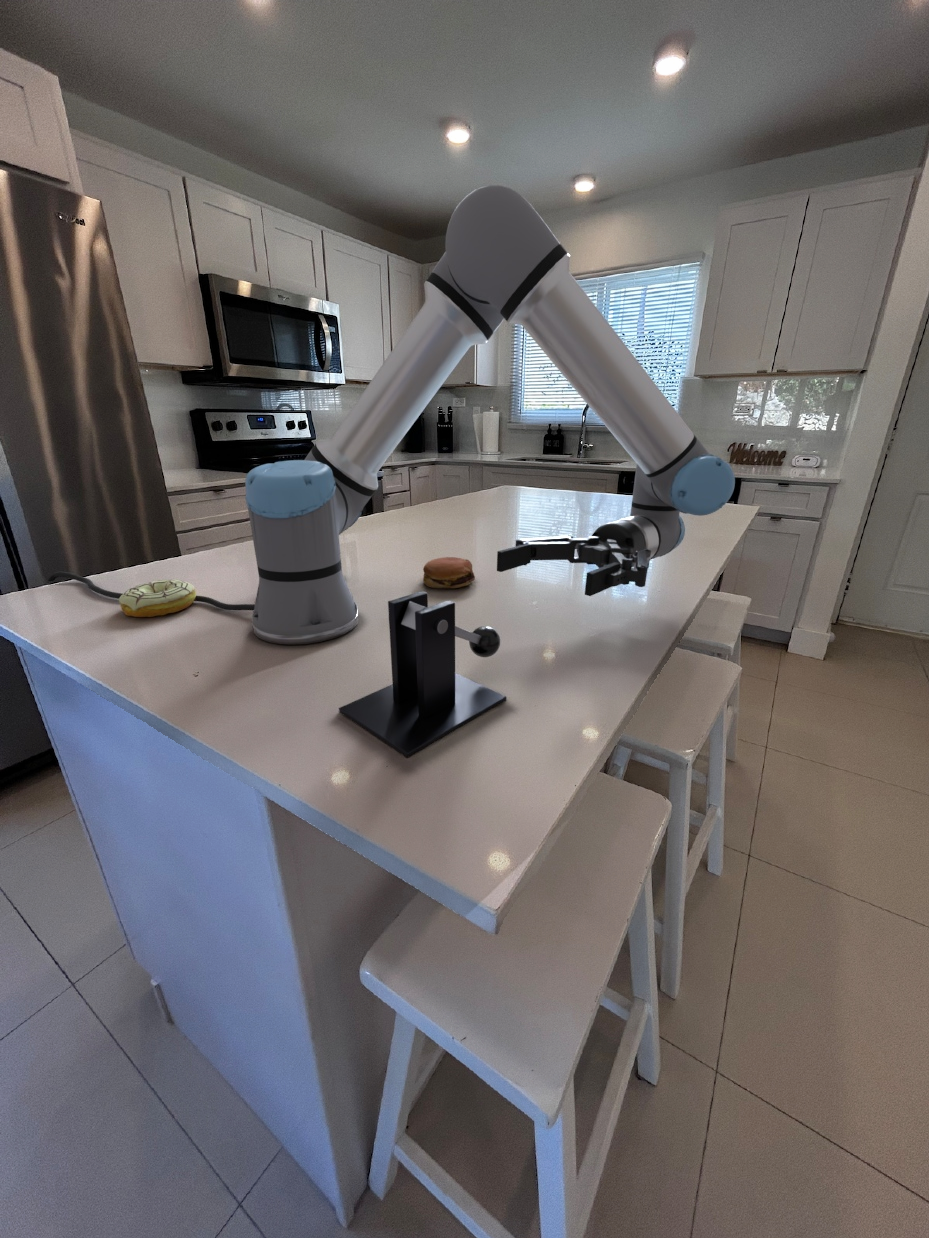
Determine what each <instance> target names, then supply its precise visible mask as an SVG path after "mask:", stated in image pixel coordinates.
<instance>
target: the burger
mask: <svg viewBox="0 0 929 1238" xmlns="http://www.w3.org/2000/svg"><path fill="white" fill-rule="evenodd" d="M422 570H423V578H422V580H423V584H424V585H425V586H426V587H428V588H432V589H458V588H463V587H466V586H469V585H471V584H472V583H473V581H475V579H476V578H475V577H476V576H475V572H474V571H473V563H472V561H470V560H469V559H467V558H466V559H465V558H461V557H455V556H453V557H452V556H444V557H437V558H434V559H431V560H429V561H427V562H426V563H425V564H424V566H423V569H422Z"/></svg>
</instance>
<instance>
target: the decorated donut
mask: <svg viewBox="0 0 929 1238" xmlns="http://www.w3.org/2000/svg"><path fill="white" fill-rule="evenodd" d="M122 594H123V595H121V596H120V598H119V599H118V602H119V604H120V609H121V611H122V612H123V613H124V614H125V615H126V616H128V617H134V618H135V617H137V618H144V617H148V618H153V617H156V616H167V614H174V613H178V612H179V611H182V610H184V609H188V608H189V607H190V606H191V605H192V604H193V603H194V602H195V601H194V599H195V597H196V596H197V593H196V589H195V587H194V585H193V584H191V583H189V582H188V581H184V580H180V579H172V578H171V579H162V580H161V579H159V580H154V581H149V582H145V583H141V584H138V585H135V586H133V587H130V588H129V589H127V590H125V591H124V592H123V593H122Z"/></svg>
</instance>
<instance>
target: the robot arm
mask: <svg viewBox="0 0 929 1238" xmlns="http://www.w3.org/2000/svg"><path fill="white" fill-rule="evenodd" d="M444 246H445V247H444V248H445V252H444V253H443V255H442V256H441V257H440V259H439V261H438V262H437V263H436V265H435V266H434V268H433V270H432V271H431V272H430V274H429V276H428V277H427V278H426V280H425V281H424V283H423V285H424V286H423V287H424V297H425V300H424V303H423V305H422V306H421V307H420V309H419V311H418V312H417V314H416V315H415V316H414V318H413V320H412V321H411V323H410V324H409V325H408V327H407V328H406V330H405V331H404V332H403V334H402V335H401V337H400V338H399V339H398V341H397V343H396V344H395V346H394V347H393V348H392V350H391V352H390V353H389V354H388V356H387V357H386V358H385V360H384V362H383V363H382V365H381V366H380V368H379V369H378V370H377V372H376V373H375V374H374V376H373V378H372V379H371V381H370V382H369V383H368V385H367V386H366V388H365V389H364V391H363V392H362V393H361V395H360V396H359V397H358V399H357V401H356V402H355V404H354V405H353V407H352V408H351V410H350V411H349V413H348V414H347V415H346V417H345V418H344V420H343V422H342V423H341V424H340V426H339V427H338V428H337V430H336V431H335V433H334V434H333V436H332V437H330V438H325V439H324V438H323V439H318V440H316V442H315V443H314V445H313V446H312V448H311V449H310V451H309V452H308V454H307V455H306V457H305V458H304V459H293V460H281V461H275V462H274V463H270V462H269V463H264V464H261V465H259V466H256V467H254V468H252V469H251V470H249V472H247V474H246V476H245V480H244V484H245V485H244V486H245V496H244V498H245V504H246V506H247V511H248V518H249V525H250V530H251V535H252V536H251V537H252V541H253V549H254V555H255V561H256V566H257V567H256V568H257V574H258V584H257V585H258V586H257V590H256V596H255V601H254V603H239V604H236V603H235V604H232V603H231V604H230V603H224V602H221V601H219V600H217V599H214V598H212V597H208V596H203V595H196V597H195V599H194V602H199V603H200V602H201V603H206V604H209V605H212V606H214V607H216V608H218V609H221V610H226V611H232V612H233V611H235V612H236V611H253V613H252V616H251V617H252V621H251V623H252V629H253V634H254V635H255V636H256V637H257V638H259V639H260V640H263V641H265V642H268V643H271V644H272V643H273V644H277V645H278V644H279V645H308V644H315V643H321V642H324V641H325V642H326V641H329V640H333V639H335V638H338V637H341V636H343V635H345V634H347V633H349V632H351V631H352V630H354V629H355V628H356V626H357V625H358V624H359V607H358V603H357V601H356V600H355V599H354V597H353V595H352V593H351V590H350V588H349V586H348V583H347V581H346V579H345V576H344V573H343V569H342V568H343V567H342V566H343V565H342V558H341V557H342V555H341V545H340V535H341V534H342V533H343V532H345V531H347V530H348V529H349V528H351V527H353V526H354V525H355V524H356V522H357V521H358V520H359V518H360V517H361V515H362V512H363V511H364V507H365V506H366V505H367V504H368V502H369V501H370V499H371V498H372V497H373V495H374V494H375V493H376V491H378V488H379V480H378V472H379V471H380V469H381V468H382V467H383V465H385V463H386V462H387V460H388V459H389V458H390V456H391V455H392V453H394V451H395V449H396V448H397V447H398V445H400V442H401V441H402V440H403V439H404V437H405V436H406V434H407V433H408V432H409V431H410V429H411V428H412V426H413V425H414V423H415V422H416V421H417V420H418V419H419V416H420V415H421V414H422V413H423V411H424V410H425V408H426V407H427V406H428V405H429V403H430V402H431V401H432V399H433V398H434V396H435V395H436V394H437V393H438V391H439V390H440V389H441V387H442V386H443V384H444V383H445V382H446V380H447V379H448V378H449V376H450V375H451V373H452V372H453V371H454V370H455V368H456V366H457V365H458V364H459V363H460V361H461V360H462V359H463V357H464V356H465V355H466V353H467V352H468V350H469V349H470V348H471V347H473V346H476V345H483V344H487V343H488V341H489V340H490V339H491V337H492V336H493V334H495V332H496V331H497V329H498V328H499V327H500V326H501V324H502V323H503V321H504V320H505V321H506V323H508V325H520V326H521V327H522V328H523V329H524V330H525V331H526V332H527V333H528V335H529V336H530V337H531V339H532V340H533V341H534V342H535V343H536V344H537V346H538V347H539V348H540V349H541V351H542V352H543V353H544V354H545V355H546V356H547V358H548V359H549V360H550V361H551V362H552V363H553V365H554V366H555V367H556V369H558V371H559V372H560V373H561V375H562V376H563V377H564V378H565V379H566V380H567V382H568V383H569V385H571V386H572V388H573V389H574V390H575V391H576V393H578V395H579V397H581V398H582V399H583V401H584V402H585V403H586V405H587V406H588V407H589V409H591V410H592V412H593V413H594V415H596V417H597V418H598V419H599V420H600V421H601V423H603V425H604V426H605V427H606V428H607V430H608V431H609V432H610V433H611V435H612V436H613V437H614V438H615V439H616V441H617V442H618V443H619V444H620V445H621V447H622V448H623V449H624V450H625V451H626V452H627V454H628V455H629V456H630V457H631V459H632V460H633V461H634V462H635V463H636V466H635V475H634V484H633V490H632V491H633V492H632V499H631V506H630V515H629V516H628V517H625V518H620V519H618V520H615V521H611V522H607V523H604V524H602V525H600V526H598V528H596V529H595V530H594V532H593V533H592V534H591V535H589V536H586V537H574V535H573V534H571V533H569V534H564V535H558V536H548V537H547V536H546V537H545V536H544V537H533V538H531V537H530V538H517V539H515V545H514V546H512V547H509V548H504V549H502V550H497V555H496V572H499V573H503V572H505V571H509V570H512V569H516V568H518V567H522V566H527V565H528V564H531V561H568V562H569V563H570V564H586V565H595V566H596V567H597V568H596V569H593V570H590V571H587V572H586V577H585V588H584V596H587V597H592V596H594V595H596V594H598V593H601V592H604V591H606V590H608V589H611V588H613V587H618V586H620V585H624V586H626V585H629V584H630V583H631V582H632V583H634V585H635V586H636V587H638V588H643V587H646V583H647V577H648V570H649V568H650V561H651V560H654V559H656V558H661V557H663V556H665V555H668V554H670V553H671V552H672V551H673V550H676V549H677V548H678V547H679V546H680V544H681V543H682V541H683V540H684V538H685V534H686V525H685V523H684V520H683V518H682V516H681V515H680V514H681V513H682V514H685V515H686V514H689V515H691V516H692V515H693V516H701V517H702V516H708V515H711V514H713V513H716V512H717V511H719V510H720V509H722V508H723V507H724V506H725V505H726V504H727V503H728V501H729V500H730V499H731V497H732V495H733V493H734V490H735V486H736V485H735V484H736V478H735V473H734V469H732V467H731V465H730V464H729V463H728V462H727V461H726V460H724V459H722V458H721V457H719V456H717V455H714V454H711V453H710V452H709V451H708V450H707V449H706V447H705V446H704V445H703V443H702V442H701V441H700V440H699V439H698V438H697V436H696V435H695V434H694V432H693V431H692V430H691V428H690V427H689V426H688V425H687V424H686V422H685V421H684V419H683V418H682V417H681V416H680V414H679V413H678V412H677V410H676V409H675V408H674V406H673V405H672V404H671V403H670V401H669V400H668V399H667V397H666V396H665V395H664V393H663V391H661V389H660V388H659V387H658V385H657V384H656V382H654V380H653V379H652V377H651V376H650V375H649V374H648V372H647V370H645V369H644V368H643V366H642V365H641V364H640V362H639V361H638V360H637V358H636V357H635V356H634V354H633V353H632V352H631V350H630V349H629V347H628V346H627V345H626V344H625V343H624V341H623V340H622V338H620V336H619V334H617V332H616V331H615V330H614V328H613V326H612V325H611V324H610V323H609V321H608V320H607V318H605V317H604V315H603V314H602V312H601V311H600V310H599V308H598V307H597V306H596V305H595V303H594V302H593V301H592V300H591V298H590V297H589V295H588V294H587V292H585V290H584V289H583V288H582V286H581V285H580V283H579V282H578V281H577V280H576V278H575V277H574V275H572V273H571V272H570V271H571V270H570V262H571V261H570V257H571V255H570V254H569V252H568V251H567V250H566V249H565V247H564V246H563V245H562V243H561V242H560V241H559V239H558V238H557V237H556V236H555V234H554V232H553V231H552V230H551V228H550V227H549V226H548V225H547V223H546V222H545V220H544V219H543V218H542V217H541V215H540V214H539V213H538V211H537V210H536V209H535V208H534V206H533V205H532V204H531V203H530V201H528V200H527V199H526V198H525V196H523V195H522V194H520V193H519V192H517V191H516V190H514V189H512V188H511V187H507V186H504V185H499V184H489V185H485V186H481V187H479V188H476V189H474V190H472V191H471V192H469V193H468V194H467V195H465V196H464V198H463V199H462V200H461V201H460V202H459V203H458V204H457V205H456V207H455V208H454V211H453V213H452V214H451V216H450V220H449V222H448V224H447V228H446V233H445V245H444ZM576 553H577V557H575V554H576ZM57 578H68V579H70V580H74V581H78V582H80V583H83V584H86V586H87V588H88V589H89V590H90V591H92V592H95V593H97V594H99V595H101V596H104V597H108V598H112V599H118V600H119V598H120V596H121V595H123V594H124V593H121V592H117V591H111V590H107V589H103V588H102V587H99V586H97V585H95V584H94V583H93V581H92V580H91V579H89V578H87V577H84V576H81V575H78V574H75V573H72V572H67V571H55V572H53V573H51V574H50V575H49V577H48V578H47V582H54V581H55V580H56V579H57Z"/></svg>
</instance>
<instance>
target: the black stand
mask: <svg viewBox="0 0 929 1238" xmlns="http://www.w3.org/2000/svg"><path fill="white" fill-rule="evenodd" d="M428 598H429V597H428V593H427V592H426V591H423V590H420V591H418V592H414V593H411V594H407V595H404V596H400V597H398V598H395V599H391V600H388V601H387V607H388V608H387V609H388V611H387V612H388V625H389V626H388V627H389V628H388V629H389V644H390V645H389V646H390V662H391V663H390V664H391V680H392V683H391V684H389V685H388V686H387V685H386V686H384V687H383V688H381V689H379V690H376V691H374V692H371V693H369V694H367V695H365V696H363V697H360V698H359V699H355V700H353V701H352V702H350V703H347V704H345V705H342V706H340V707H339V708H338V712H339V714H340V715H342V716H344V717H345V718H346V719H348V720H349V721H351V722H353V723H354V724H356V725H357V726H358V727H360V728H362V729H363V730H364V731H366V732H367V733H369V734H370V735H372V736H373V737H375V738H376V739H377V740H379V741H381V742H382V743H384V744H385V745H387V746H388V747H389V748H391V749H393V750H394V751H396V752H397V753H398V754H400V755H401V756H402V757H405V759H409V758H411V757H412V756H414V755H416V754H418V753H419V752H421V751H423V750H424V749H426V748H428V747H430V746H432V745H433V744H435V743H436V742H438V741H440V740H442V739H443V738H445V737H447V736H449V735H451V734H452V733H453V732H456V731H457V730H458V729H459V730H460V729H461V728H462V727H463V726H466V725H467V724H469V723H471V722H472V721H474V720H475V719H478V718H479V717H481V716H483V715H484V714H486V713H487V712H489V711H491V710H493V709H494V708H496V707H498V706H500V705H501V704H503V703H505V702H506V701H507V696H506V695H504V694H502V693H500V692H497V690H494V689H491V688H489V687H488V686H485V685H483V684H480V683H478V682H476V681H474V680H472V679H470V678H467V677H465V676H463V675H462V674H460V673H457V672H456V636H455V626H456V602H455V601H452V600H445V601H442V602H440V603H437V604H433V605H431V606H428V605H429V604H428V603H429V601H428V600H429V599H428ZM409 602H413V603H416V604H419V605H421V606H424V607H427V608H424V609H421V610H418V611H415V630H414V629H412V628H409V627H407V626H405V625H402V624H401V623H402V620H403V617H404V615H405V612H406V609H407V607H408V604H409Z"/></svg>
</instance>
